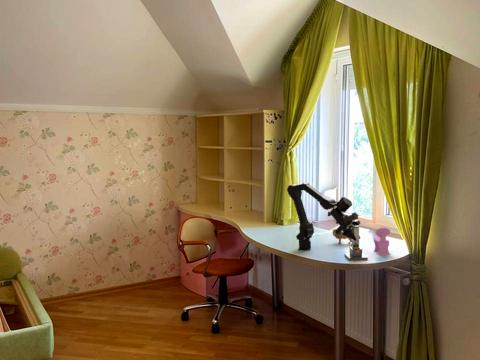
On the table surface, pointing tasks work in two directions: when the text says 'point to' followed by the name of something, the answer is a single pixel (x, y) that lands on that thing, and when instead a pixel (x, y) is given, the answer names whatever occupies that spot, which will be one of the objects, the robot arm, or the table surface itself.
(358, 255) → the stand base
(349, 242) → the lion figurine
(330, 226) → the table surface
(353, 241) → the steel post
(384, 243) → the pink figurine
